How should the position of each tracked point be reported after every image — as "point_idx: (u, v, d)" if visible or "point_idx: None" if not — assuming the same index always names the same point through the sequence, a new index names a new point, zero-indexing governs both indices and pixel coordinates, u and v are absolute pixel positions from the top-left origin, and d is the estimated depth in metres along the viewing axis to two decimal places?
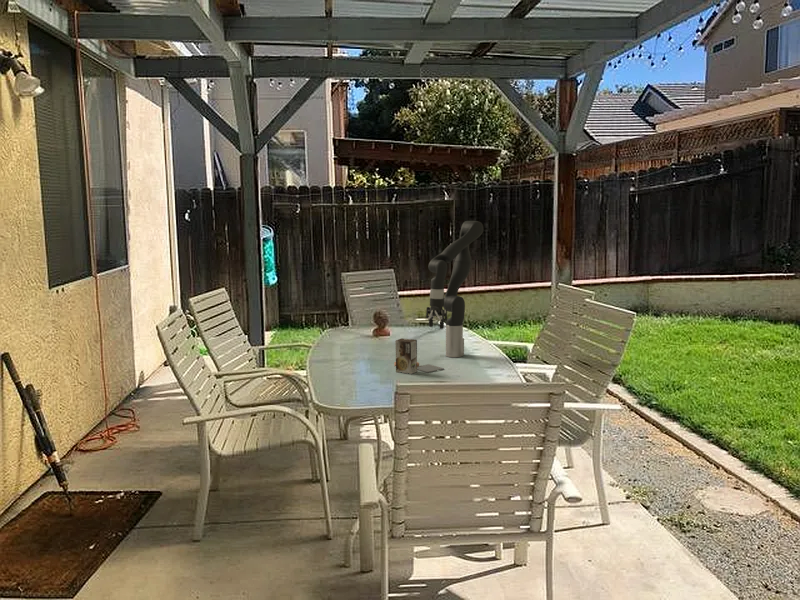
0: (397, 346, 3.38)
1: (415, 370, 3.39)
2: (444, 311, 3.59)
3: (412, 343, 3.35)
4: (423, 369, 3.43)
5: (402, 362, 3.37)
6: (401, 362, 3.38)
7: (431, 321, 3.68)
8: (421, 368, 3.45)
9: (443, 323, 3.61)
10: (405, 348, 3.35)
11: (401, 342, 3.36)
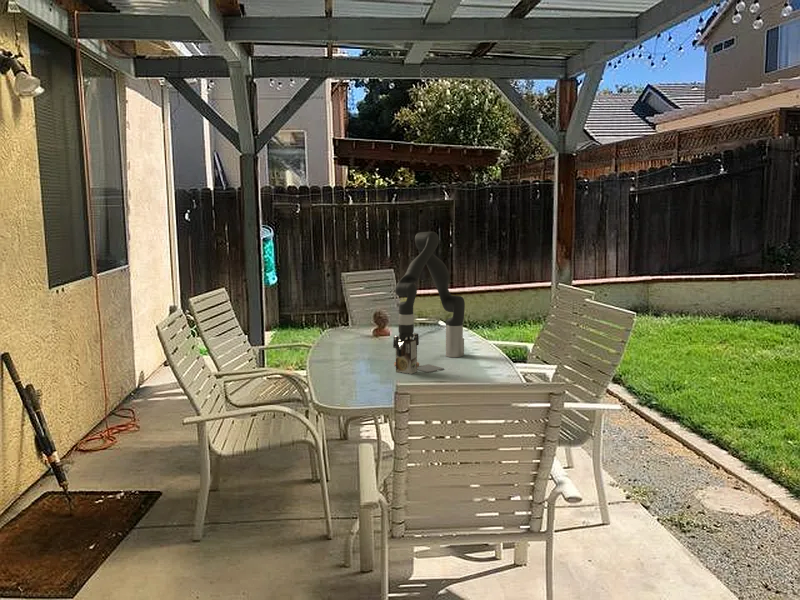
0: None
1: (415, 370, 3.39)
2: None
3: (412, 343, 3.35)
4: (423, 369, 3.43)
5: (402, 362, 3.37)
6: (401, 362, 3.38)
7: None
8: (421, 368, 3.45)
9: None
10: (405, 348, 3.35)
11: (401, 342, 3.36)
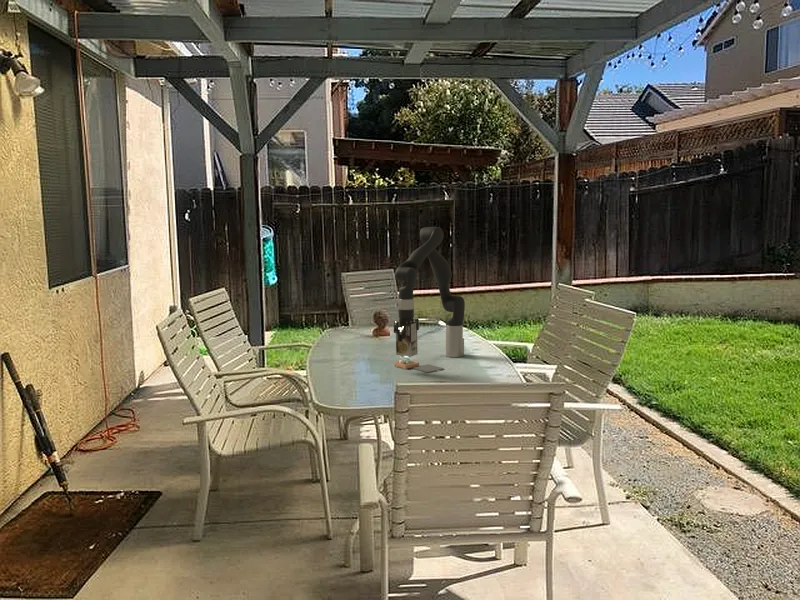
0: None
1: (415, 353, 3.38)
2: None
3: (412, 325, 3.34)
4: (423, 369, 3.43)
5: (402, 345, 3.36)
6: (401, 345, 3.37)
7: None
8: (421, 368, 3.45)
9: None
10: (405, 330, 3.34)
11: (401, 325, 3.35)
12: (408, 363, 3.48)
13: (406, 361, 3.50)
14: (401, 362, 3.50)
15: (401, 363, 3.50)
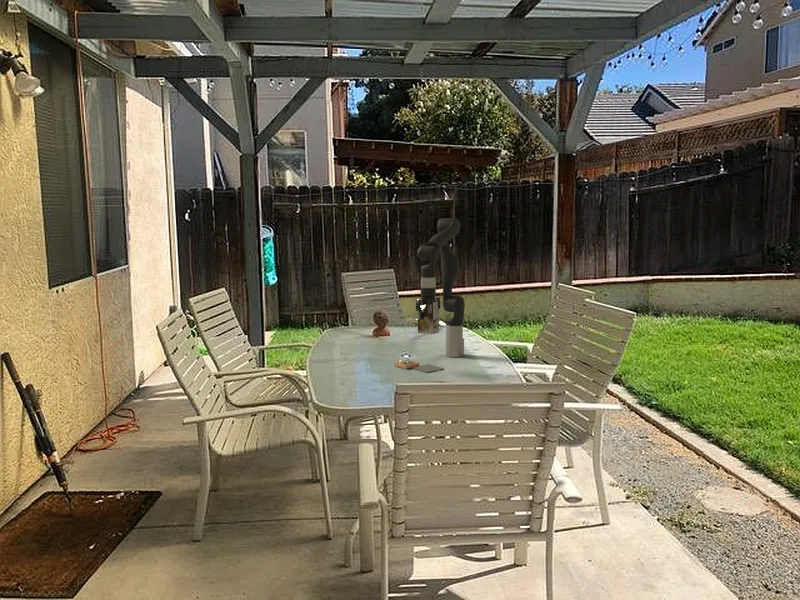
0: None
1: (437, 331, 3.42)
2: None
3: (434, 304, 3.38)
4: (423, 369, 3.43)
5: (424, 323, 3.40)
6: (423, 323, 3.41)
7: None
8: (421, 368, 3.45)
9: None
10: (427, 308, 3.38)
11: (423, 303, 3.39)
12: (408, 363, 3.48)
13: (406, 361, 3.50)
14: (401, 362, 3.50)
15: (401, 363, 3.50)
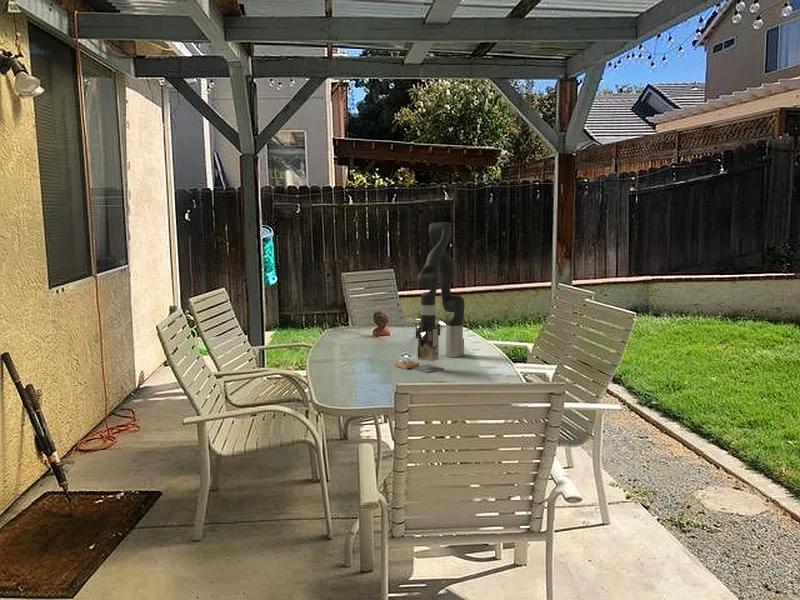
0: None
1: (437, 358, 3.44)
2: None
3: (434, 331, 3.40)
4: (423, 369, 3.43)
5: (424, 350, 3.42)
6: (423, 349, 3.42)
7: None
8: (421, 368, 3.45)
9: None
10: (427, 335, 3.40)
11: None
12: (408, 363, 3.48)
13: (406, 361, 3.50)
14: (401, 362, 3.50)
15: (401, 363, 3.50)
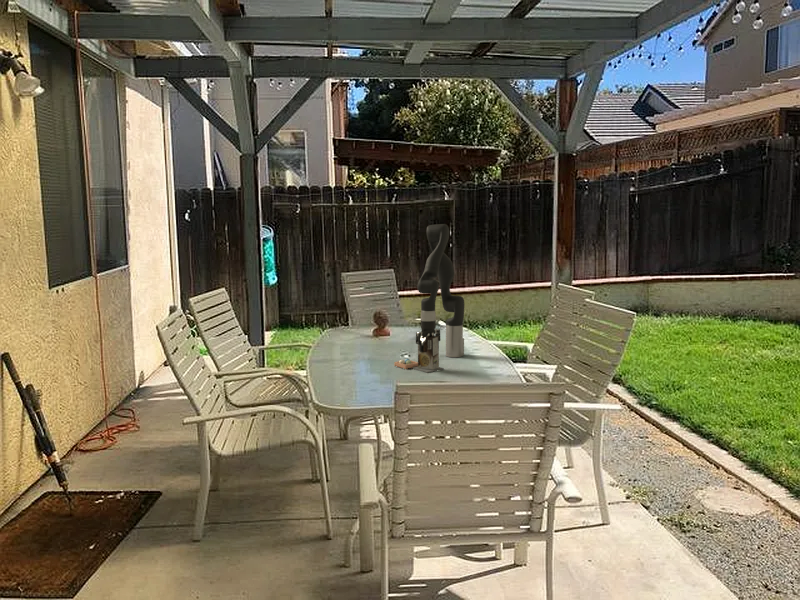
0: None
1: (437, 366, 3.44)
2: None
3: (434, 339, 3.40)
4: (423, 369, 3.43)
5: (424, 358, 3.43)
6: (423, 358, 3.43)
7: None
8: (421, 368, 3.45)
9: None
10: (427, 344, 3.41)
11: (423, 338, 3.42)
12: (408, 363, 3.48)
13: (406, 361, 3.50)
14: (401, 362, 3.50)
15: (401, 363, 3.50)
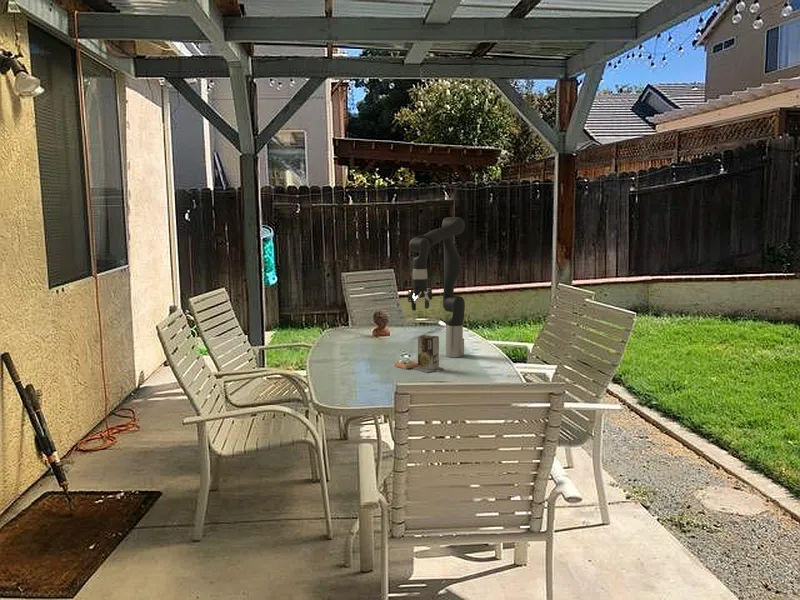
0: (419, 342, 3.43)
1: (437, 366, 3.44)
2: None
3: (434, 339, 3.40)
4: (423, 369, 3.43)
5: (424, 358, 3.43)
6: (423, 358, 3.43)
7: None
8: (421, 368, 3.45)
9: None
10: (427, 344, 3.41)
11: (423, 338, 3.42)
12: (408, 363, 3.48)
13: (406, 361, 3.50)
14: (401, 362, 3.50)
15: (401, 363, 3.50)
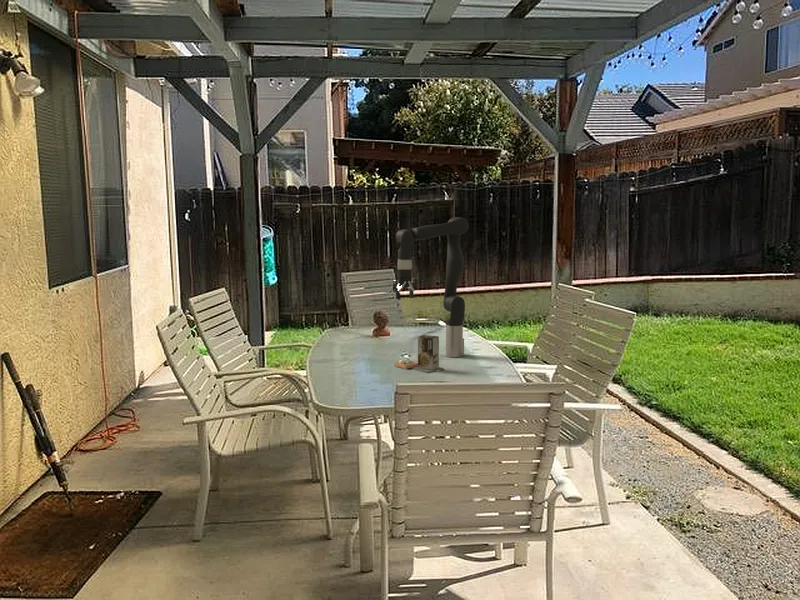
0: (419, 342, 3.43)
1: (437, 366, 3.44)
2: None
3: (434, 339, 3.40)
4: (423, 369, 3.43)
5: (424, 358, 3.43)
6: (423, 358, 3.43)
7: None
8: (421, 368, 3.45)
9: None
10: (427, 344, 3.41)
11: (423, 338, 3.42)
12: (408, 363, 3.48)
13: (406, 361, 3.50)
14: (401, 362, 3.50)
15: (401, 363, 3.50)
